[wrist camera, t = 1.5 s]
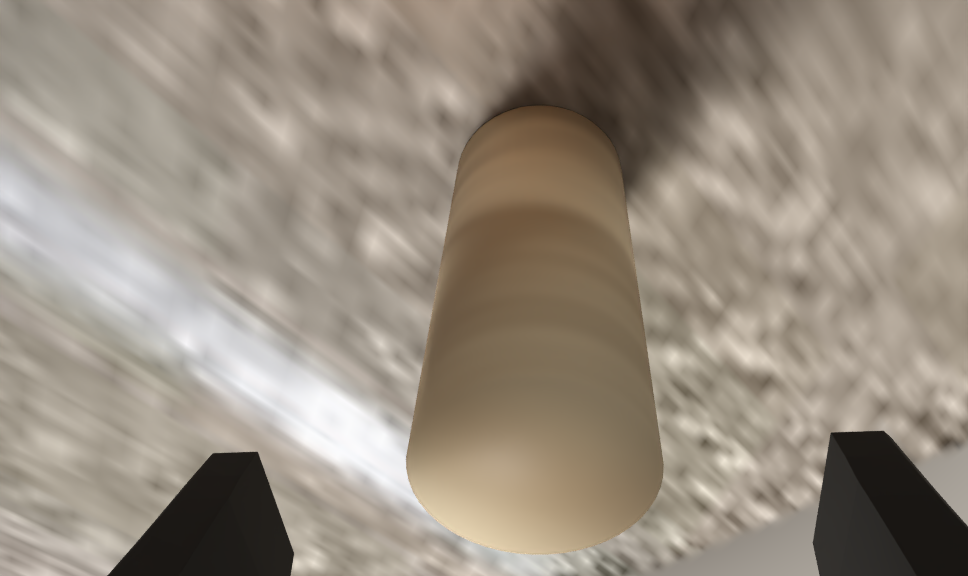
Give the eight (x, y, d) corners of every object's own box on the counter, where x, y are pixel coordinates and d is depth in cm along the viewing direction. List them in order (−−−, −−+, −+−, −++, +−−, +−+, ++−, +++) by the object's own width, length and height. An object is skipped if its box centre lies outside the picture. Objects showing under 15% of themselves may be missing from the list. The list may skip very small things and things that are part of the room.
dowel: (565, 275, 20) (574, 583, 13) (428, 207, 19) (365, 499, 12) (655, 156, 18) (717, 443, 11) (508, 74, 17) (483, 334, 10)
